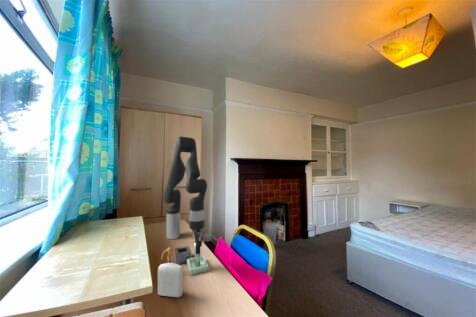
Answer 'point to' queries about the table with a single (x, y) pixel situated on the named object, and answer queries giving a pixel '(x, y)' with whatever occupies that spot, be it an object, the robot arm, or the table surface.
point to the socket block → (182, 254)
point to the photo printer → (170, 280)
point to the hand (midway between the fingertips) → (197, 252)
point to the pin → (196, 257)
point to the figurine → (169, 253)
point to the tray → (196, 270)
